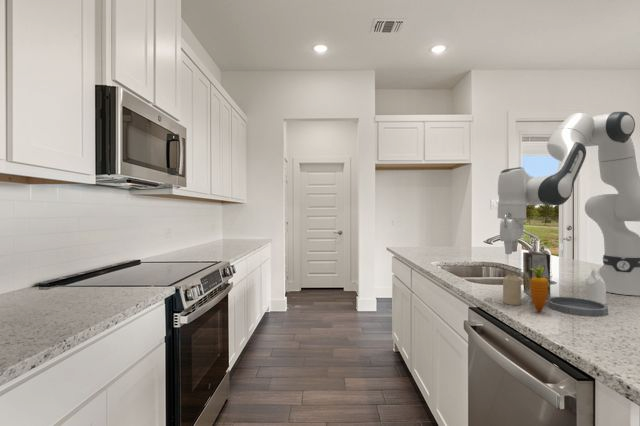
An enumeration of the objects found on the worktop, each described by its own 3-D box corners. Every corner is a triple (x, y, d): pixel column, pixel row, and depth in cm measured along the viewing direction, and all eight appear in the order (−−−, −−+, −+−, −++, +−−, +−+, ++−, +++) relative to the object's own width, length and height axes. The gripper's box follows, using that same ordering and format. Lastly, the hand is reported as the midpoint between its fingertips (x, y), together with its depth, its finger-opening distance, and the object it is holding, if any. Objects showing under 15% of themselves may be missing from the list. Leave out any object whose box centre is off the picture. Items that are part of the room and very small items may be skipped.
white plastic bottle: (608, 270, 117) (587, 269, 120) (608, 305, 118) (587, 303, 120) (603, 267, 123) (584, 266, 125) (603, 301, 123) (584, 299, 125)
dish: (550, 300, 125) (550, 294, 125) (607, 307, 115) (607, 301, 115) (544, 310, 113) (544, 304, 113) (608, 319, 103) (608, 313, 103)
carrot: (542, 315, 107) (542, 267, 107) (526, 311, 111) (526, 265, 111) (551, 313, 109) (551, 266, 109) (535, 309, 114) (535, 264, 113)
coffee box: (550, 298, 128) (550, 254, 128) (531, 297, 129) (531, 254, 129) (540, 292, 137) (540, 251, 137) (522, 291, 138) (522, 251, 138)
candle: (499, 301, 124) (499, 273, 124) (514, 300, 124) (514, 273, 124) (509, 305, 118) (509, 276, 118) (524, 305, 119) (524, 276, 119)
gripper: (516, 213, 111) (515, 256, 111) (526, 213, 127) (526, 251, 127) (494, 213, 115) (494, 254, 115) (507, 213, 131) (507, 249, 131)
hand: (511, 252), depth 121 cm, fingers open, 8 cm apart
